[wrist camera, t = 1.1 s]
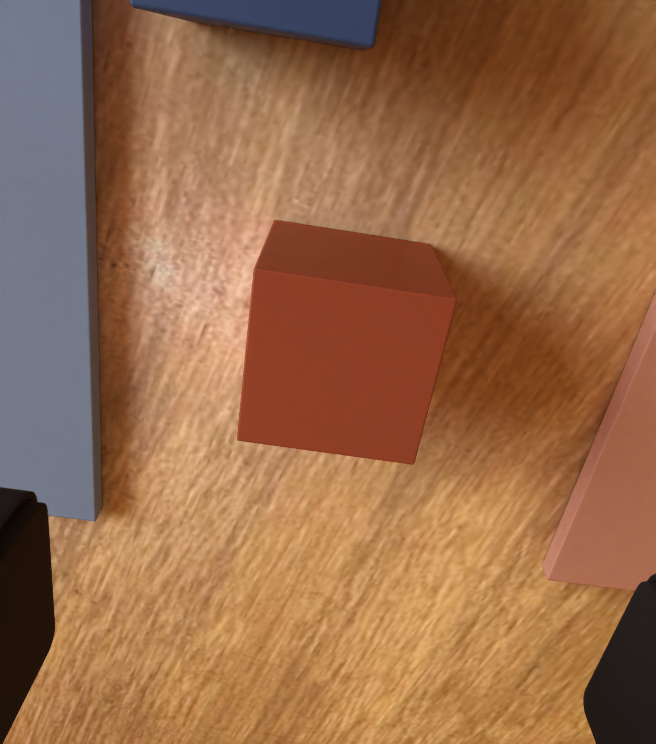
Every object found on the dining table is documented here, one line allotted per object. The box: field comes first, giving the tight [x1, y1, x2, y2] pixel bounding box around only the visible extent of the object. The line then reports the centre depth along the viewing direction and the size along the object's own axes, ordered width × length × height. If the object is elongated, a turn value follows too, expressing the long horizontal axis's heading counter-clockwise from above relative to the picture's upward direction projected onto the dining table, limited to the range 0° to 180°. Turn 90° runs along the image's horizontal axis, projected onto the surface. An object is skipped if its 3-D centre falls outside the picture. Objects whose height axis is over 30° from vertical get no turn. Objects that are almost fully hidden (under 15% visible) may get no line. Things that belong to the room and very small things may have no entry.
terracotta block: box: [237, 220, 457, 464], centre depth 18 cm, size 5×5×5 cm
